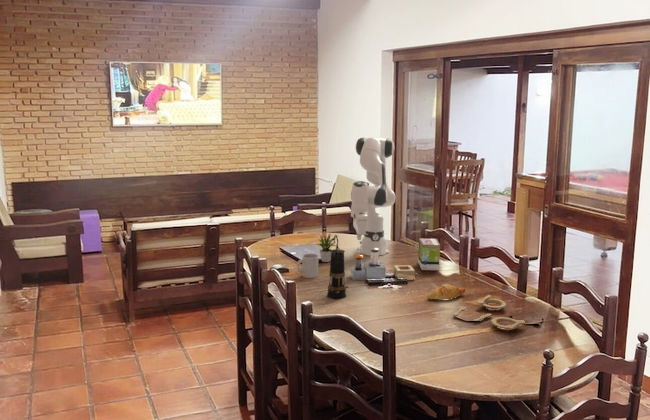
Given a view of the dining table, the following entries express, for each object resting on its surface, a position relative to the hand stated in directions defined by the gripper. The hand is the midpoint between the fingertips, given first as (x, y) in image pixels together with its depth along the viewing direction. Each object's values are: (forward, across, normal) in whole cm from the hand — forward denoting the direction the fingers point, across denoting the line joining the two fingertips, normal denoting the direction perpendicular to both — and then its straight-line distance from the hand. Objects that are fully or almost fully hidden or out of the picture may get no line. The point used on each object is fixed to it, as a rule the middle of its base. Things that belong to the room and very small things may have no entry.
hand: (358, 239), depth 317 cm
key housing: (+21, 0, 0) cm, 21 cm away
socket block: (+21, 0, +8) cm, 23 cm away
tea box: (+21, -18, +42) cm, 51 cm away
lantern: (+21, +27, -14) cm, 37 cm away
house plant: (+21, -32, -14) cm, 41 cm away
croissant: (+22, +32, +38) cm, 54 cm away
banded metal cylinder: (+19, 0, +8) cm, 21 cm away
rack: (+21, 0, +24) cm, 32 cm away
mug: (+21, -5, -26) cm, 34 cm away
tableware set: (+22, +60, +53) cm, 83 cm away
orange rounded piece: (+17, 0, 0) cm, 17 cm away
